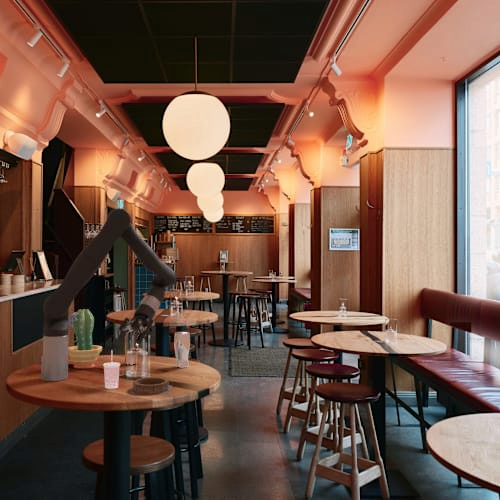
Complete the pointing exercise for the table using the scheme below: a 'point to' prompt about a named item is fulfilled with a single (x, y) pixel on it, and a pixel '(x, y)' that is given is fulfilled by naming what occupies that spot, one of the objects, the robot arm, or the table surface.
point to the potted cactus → (83, 340)
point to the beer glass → (182, 348)
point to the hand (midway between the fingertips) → (128, 341)
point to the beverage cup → (111, 373)
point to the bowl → (150, 385)
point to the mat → (157, 393)
